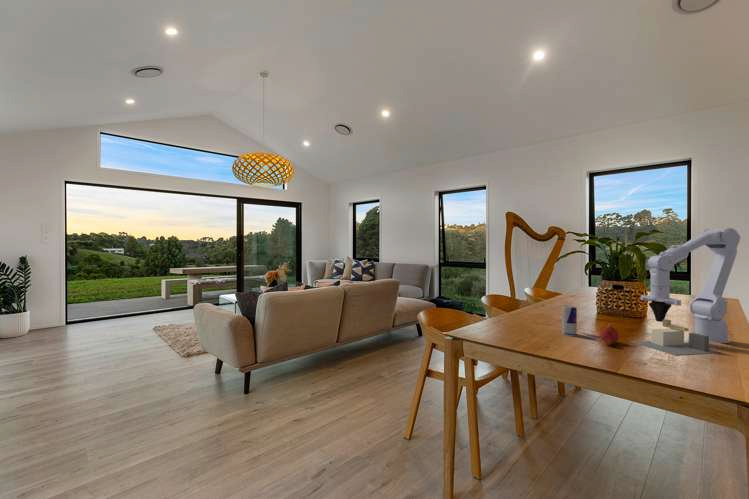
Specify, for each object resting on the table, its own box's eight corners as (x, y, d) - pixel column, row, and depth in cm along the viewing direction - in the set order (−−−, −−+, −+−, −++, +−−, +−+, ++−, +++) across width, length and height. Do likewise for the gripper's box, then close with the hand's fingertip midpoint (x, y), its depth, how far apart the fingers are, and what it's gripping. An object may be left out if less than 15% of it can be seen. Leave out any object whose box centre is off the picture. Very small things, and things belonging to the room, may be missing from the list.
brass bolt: (667, 326, 134) (667, 319, 134) (689, 331, 127) (689, 323, 126) (662, 326, 134) (662, 319, 134) (684, 331, 126) (684, 324, 126)
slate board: (667, 341, 137) (667, 325, 137) (720, 355, 119) (720, 337, 119) (627, 343, 134) (627, 327, 134) (675, 357, 116) (675, 339, 116)
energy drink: (578, 337, 143) (578, 307, 143) (564, 336, 144) (564, 307, 144) (573, 333, 148) (574, 305, 148) (560, 333, 149) (560, 305, 149)
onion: (596, 343, 134) (596, 322, 134) (610, 342, 134) (610, 322, 134) (607, 347, 128) (608, 326, 128) (622, 347, 129) (622, 325, 128)
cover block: (671, 341, 133) (671, 328, 133) (684, 344, 128) (684, 331, 128) (651, 342, 131) (651, 329, 131) (663, 345, 127) (663, 332, 127)
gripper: (634, 284, 143) (634, 317, 143) (669, 288, 128) (669, 325, 128) (649, 284, 144) (649, 317, 144) (686, 288, 129) (685, 325, 130)
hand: (659, 321), depth 136 cm, fingers closed
